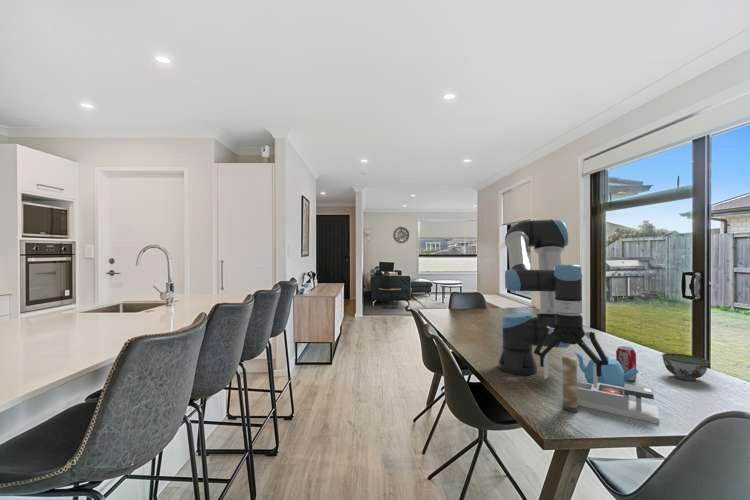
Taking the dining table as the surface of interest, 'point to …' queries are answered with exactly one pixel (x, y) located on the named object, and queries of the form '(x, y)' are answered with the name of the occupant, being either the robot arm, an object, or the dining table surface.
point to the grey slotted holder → (615, 402)
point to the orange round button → (611, 391)
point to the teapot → (607, 372)
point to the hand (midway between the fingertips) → (569, 381)
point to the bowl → (685, 366)
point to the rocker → (638, 391)
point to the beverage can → (626, 359)
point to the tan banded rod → (569, 384)
